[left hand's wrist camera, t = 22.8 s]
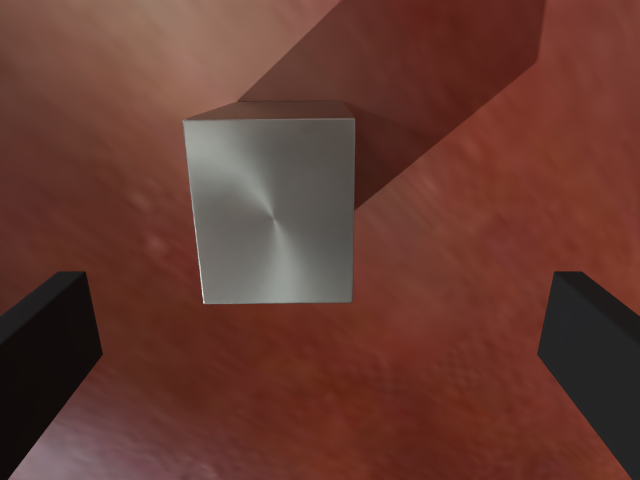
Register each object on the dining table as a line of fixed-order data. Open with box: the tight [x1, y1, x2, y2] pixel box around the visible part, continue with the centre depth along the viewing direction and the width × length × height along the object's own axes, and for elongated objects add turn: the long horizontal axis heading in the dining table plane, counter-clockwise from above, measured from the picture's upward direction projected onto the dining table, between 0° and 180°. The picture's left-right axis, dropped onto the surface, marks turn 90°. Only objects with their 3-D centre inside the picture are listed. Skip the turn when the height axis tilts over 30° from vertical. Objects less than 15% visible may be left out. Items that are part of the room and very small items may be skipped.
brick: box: [182, 101, 356, 304], centre depth 24 cm, size 7×8×12 cm
